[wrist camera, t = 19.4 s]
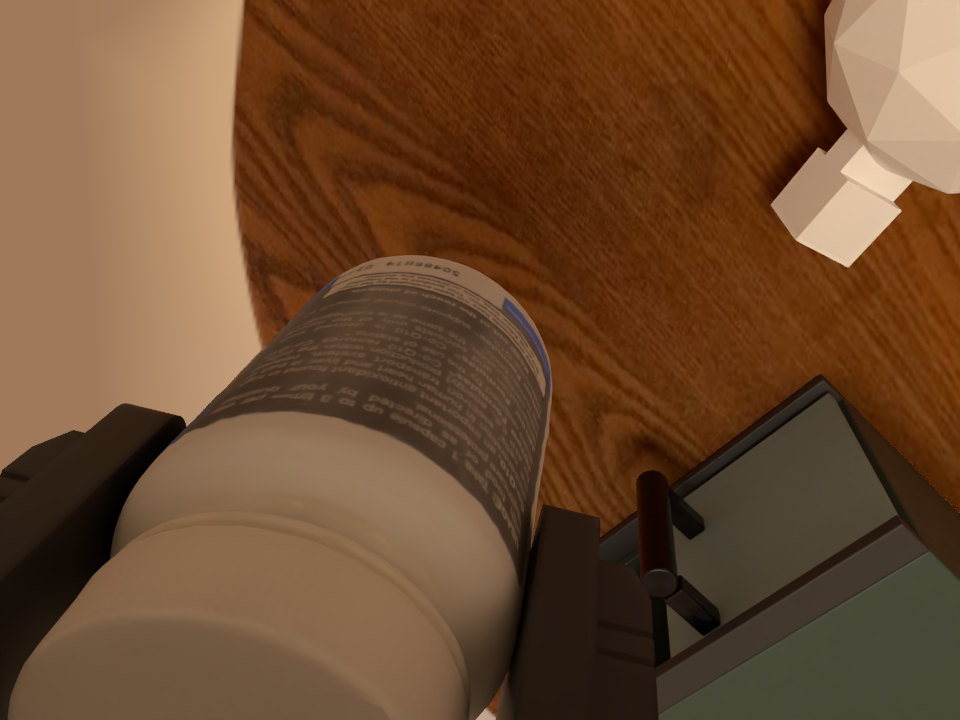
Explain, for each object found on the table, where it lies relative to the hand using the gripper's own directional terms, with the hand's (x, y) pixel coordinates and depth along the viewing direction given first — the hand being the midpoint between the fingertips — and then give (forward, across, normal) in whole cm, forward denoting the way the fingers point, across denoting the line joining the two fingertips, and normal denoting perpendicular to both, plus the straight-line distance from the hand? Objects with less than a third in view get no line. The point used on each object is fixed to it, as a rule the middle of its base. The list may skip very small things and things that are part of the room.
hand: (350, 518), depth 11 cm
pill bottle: (+5, 0, 0) cm, 5 cm away
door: (+21, -10, +8) cm, 25 cm away
